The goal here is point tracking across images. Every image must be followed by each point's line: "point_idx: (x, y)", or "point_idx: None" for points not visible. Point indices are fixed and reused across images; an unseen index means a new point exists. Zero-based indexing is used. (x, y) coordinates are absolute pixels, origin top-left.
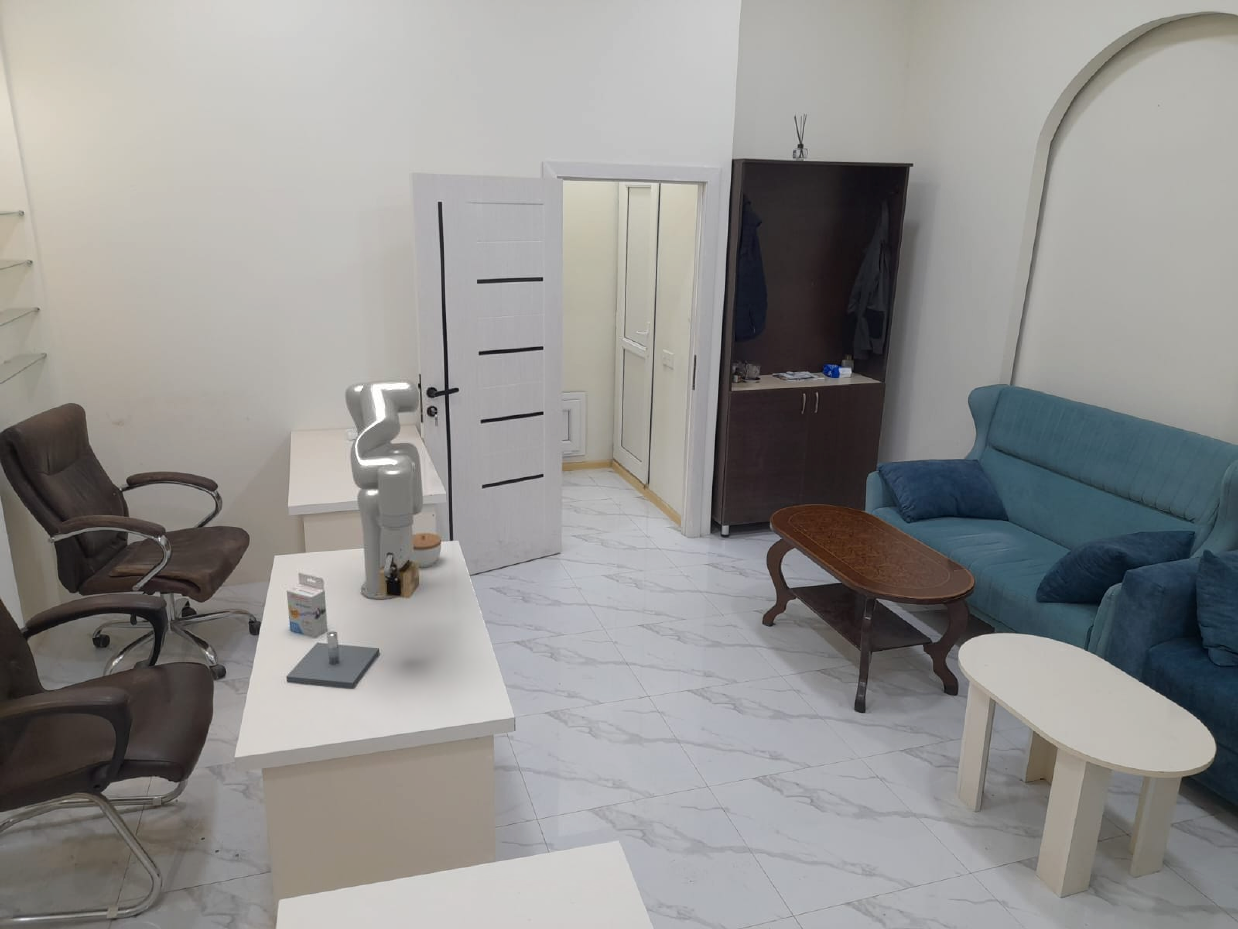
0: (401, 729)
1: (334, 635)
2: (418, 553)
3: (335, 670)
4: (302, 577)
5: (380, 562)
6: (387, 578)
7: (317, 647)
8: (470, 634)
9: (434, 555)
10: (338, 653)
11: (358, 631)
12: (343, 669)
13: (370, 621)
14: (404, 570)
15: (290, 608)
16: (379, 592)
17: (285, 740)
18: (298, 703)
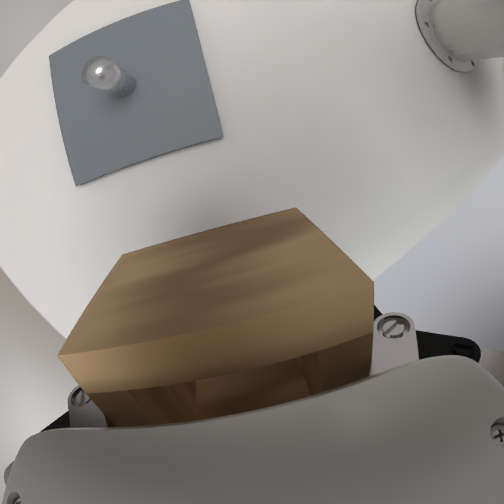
0: (57, 327)
1: (89, 83)
2: None
3: (96, 116)
4: None
5: (9, 477)
6: (62, 421)
7: (168, 12)
8: (366, 271)
9: None
10: (119, 92)
11: (295, 37)
12: (106, 128)
13: (346, 42)
14: (309, 370)
15: None
16: (434, 28)
17: None
18: (15, 135)
